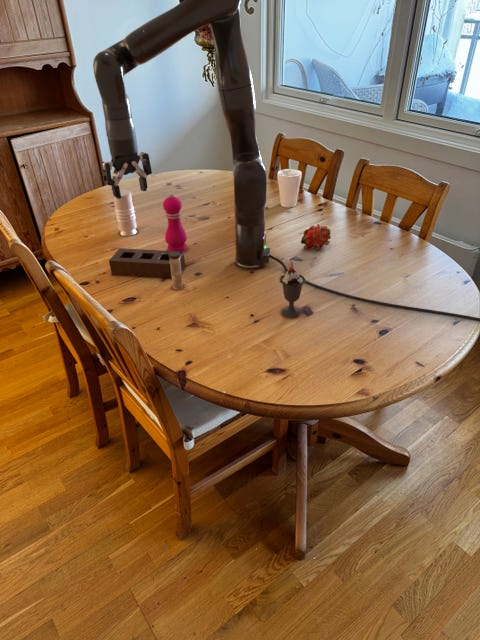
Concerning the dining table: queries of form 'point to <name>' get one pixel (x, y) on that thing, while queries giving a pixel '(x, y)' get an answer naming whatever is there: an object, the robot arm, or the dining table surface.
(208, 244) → the dining table surface
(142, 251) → the dark brown hollow block
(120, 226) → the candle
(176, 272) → the peg
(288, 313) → the sundae
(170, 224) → the pepper mill
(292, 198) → the foam cup
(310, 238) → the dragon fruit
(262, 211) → the robot arm
